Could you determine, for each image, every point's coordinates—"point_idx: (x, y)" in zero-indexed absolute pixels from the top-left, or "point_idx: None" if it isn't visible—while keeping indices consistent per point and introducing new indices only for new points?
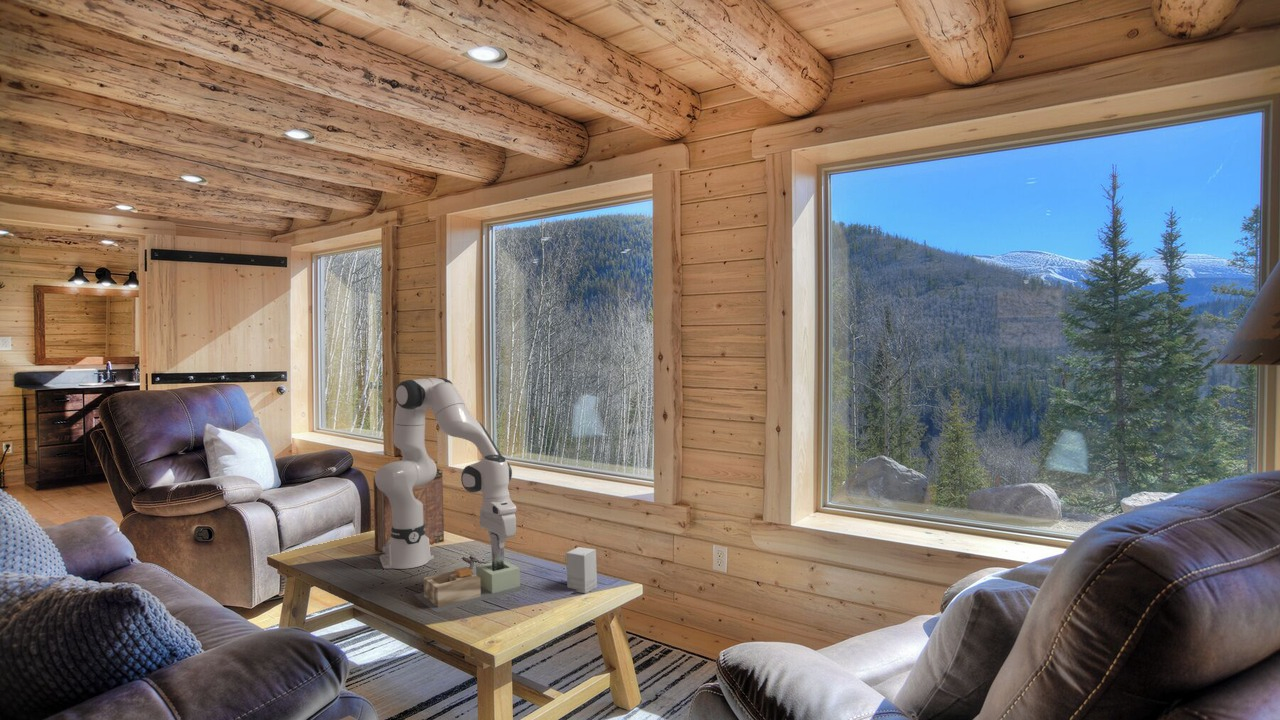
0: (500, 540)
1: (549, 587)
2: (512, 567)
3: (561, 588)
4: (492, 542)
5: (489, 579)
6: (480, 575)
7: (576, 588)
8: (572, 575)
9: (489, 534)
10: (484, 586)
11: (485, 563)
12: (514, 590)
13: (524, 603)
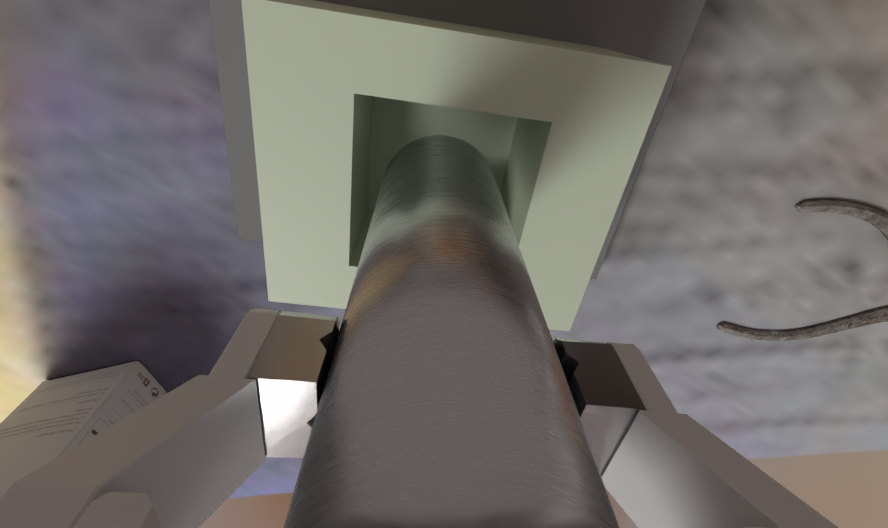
0: (113, 431)
1: (234, 331)
2: (329, 275)
3: (183, 357)
4: (440, 321)
5: (329, 7)
6: (545, 42)
7: (72, 384)
8: (42, 436)
9: (761, 494)
10: (453, 23)
11: (839, 321)
12: (253, 159)
13: (33, 88)
